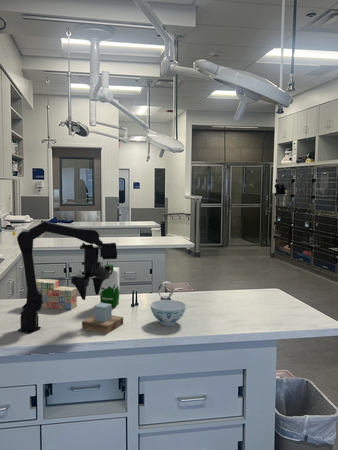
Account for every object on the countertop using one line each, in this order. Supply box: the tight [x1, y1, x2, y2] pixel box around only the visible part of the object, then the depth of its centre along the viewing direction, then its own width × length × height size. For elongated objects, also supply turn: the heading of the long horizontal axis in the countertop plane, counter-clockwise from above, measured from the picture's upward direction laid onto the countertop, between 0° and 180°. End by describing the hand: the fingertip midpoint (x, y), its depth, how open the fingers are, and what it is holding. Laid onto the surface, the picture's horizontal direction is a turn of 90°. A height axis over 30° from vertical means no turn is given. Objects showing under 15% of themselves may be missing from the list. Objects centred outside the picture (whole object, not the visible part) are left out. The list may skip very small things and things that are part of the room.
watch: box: [156, 281, 175, 300], centre depth 197 cm, size 6×8×11 cm
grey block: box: [93, 302, 113, 322], centre depth 164 cm, size 5×5×6 cm
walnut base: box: [81, 315, 124, 334], centre depth 165 cm, size 12×12×3 cm
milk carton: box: [99, 264, 120, 309], centre depth 193 cm, size 9×9×20 cm
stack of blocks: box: [36, 278, 78, 311], centre depth 191 cm, size 21×6×12 cm, turn 76°
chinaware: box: [149, 299, 187, 326], centre depth 170 cm, size 15×15×8 cm
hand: (90, 297), depth 165 cm, fingers open, 9 cm apart
